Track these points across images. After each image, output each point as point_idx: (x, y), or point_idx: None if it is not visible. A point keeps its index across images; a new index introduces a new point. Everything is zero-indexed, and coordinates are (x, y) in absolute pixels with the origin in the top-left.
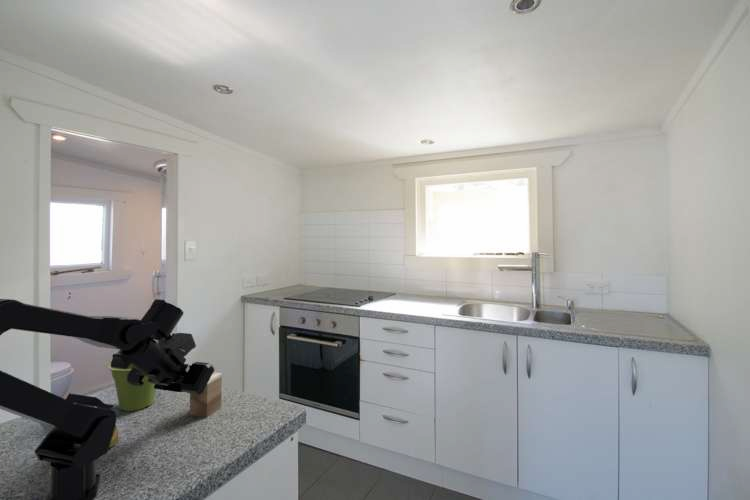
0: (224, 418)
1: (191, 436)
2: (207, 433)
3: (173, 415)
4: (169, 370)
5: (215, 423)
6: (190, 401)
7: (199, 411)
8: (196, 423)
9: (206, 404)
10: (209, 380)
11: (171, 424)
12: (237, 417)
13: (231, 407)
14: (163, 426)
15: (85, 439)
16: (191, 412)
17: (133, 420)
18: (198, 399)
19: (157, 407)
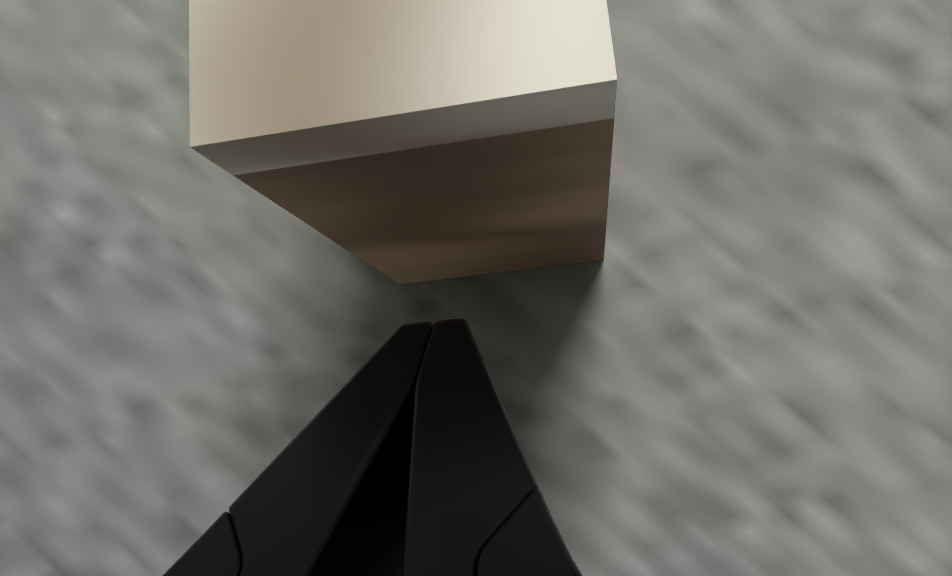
0: (789, 205)
1: None
2: (892, 509)
3: (271, 357)
4: None
5: (790, 319)
6: (361, 253)
7: (506, 261)
8: (607, 392)
9: (595, 226)
10: (605, 36)
11: None
12: (902, 135)
13: (663, 11)
14: None
15: None
16: (412, 278)
17: (19, 566)
18: (468, 228)
19: (21, 301)
